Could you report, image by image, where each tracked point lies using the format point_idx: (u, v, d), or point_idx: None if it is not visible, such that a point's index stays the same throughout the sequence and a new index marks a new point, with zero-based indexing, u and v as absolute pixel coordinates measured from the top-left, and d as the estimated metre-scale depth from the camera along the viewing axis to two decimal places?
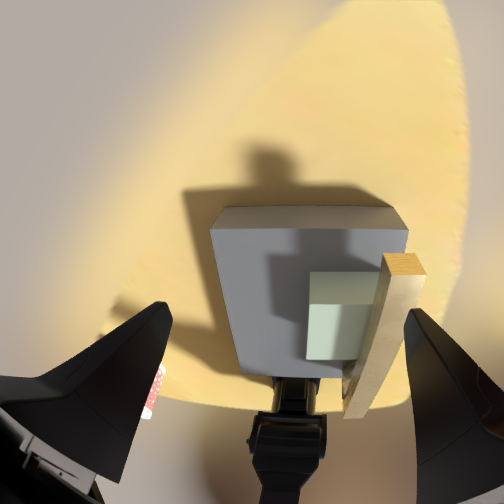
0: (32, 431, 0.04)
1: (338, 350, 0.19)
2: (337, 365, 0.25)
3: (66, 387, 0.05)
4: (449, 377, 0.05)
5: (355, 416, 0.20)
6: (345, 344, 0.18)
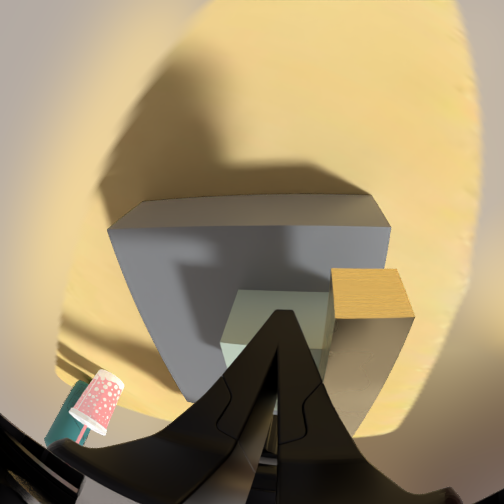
0: None
1: None
2: None
3: (223, 440, 0.04)
4: (277, 387, 0.06)
5: None
6: None
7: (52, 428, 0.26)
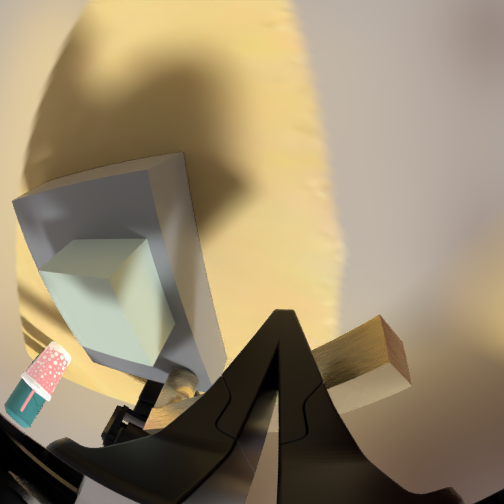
0: None
1: (96, 340, 0.13)
2: (167, 370, 0.20)
3: (223, 440, 0.04)
4: (278, 387, 0.06)
5: None
6: (96, 333, 0.13)
7: (11, 395, 0.26)
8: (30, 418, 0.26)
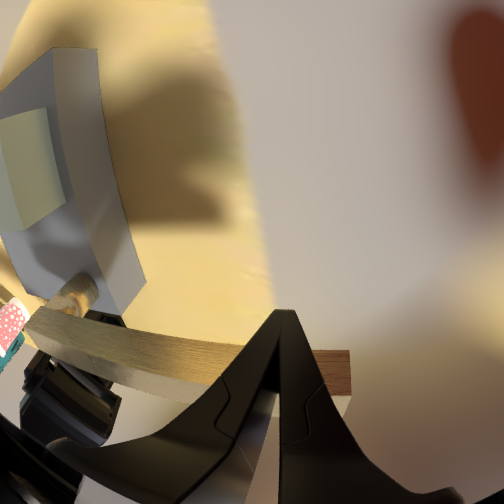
0: None
1: None
2: None
3: (222, 440, 0.04)
4: (278, 387, 0.06)
5: (36, 341, 0.11)
6: None
7: None
8: None
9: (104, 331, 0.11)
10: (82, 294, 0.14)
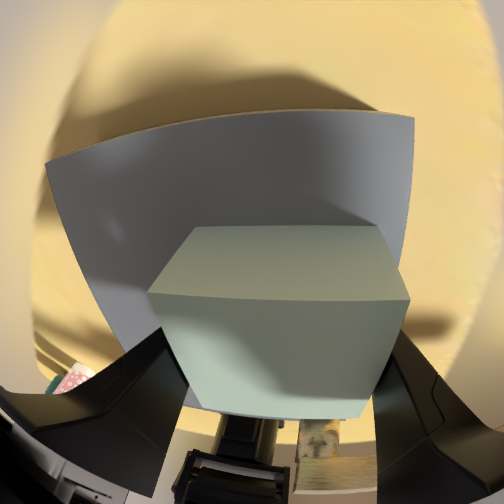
0: (67, 457, 0.03)
1: (260, 403, 0.08)
2: None
3: (102, 405, 0.05)
4: (402, 384, 0.05)
5: (302, 492, 0.09)
6: (273, 394, 0.08)
7: None
8: None
9: None
10: (338, 425, 0.12)
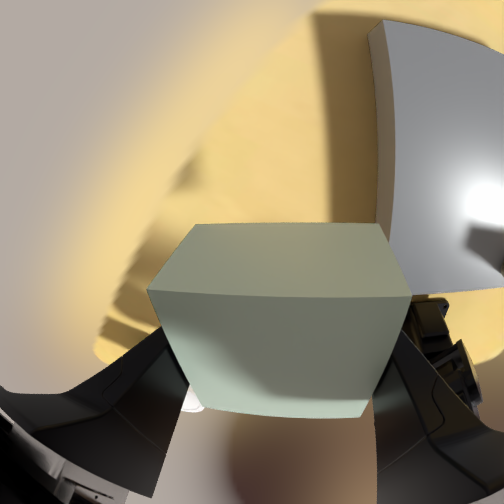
0: (67, 457, 0.03)
1: (260, 402, 0.08)
2: (496, 262, 0.14)
3: (102, 404, 0.05)
4: (402, 384, 0.05)
5: None
6: (273, 392, 0.08)
7: None
8: None
9: None
10: None
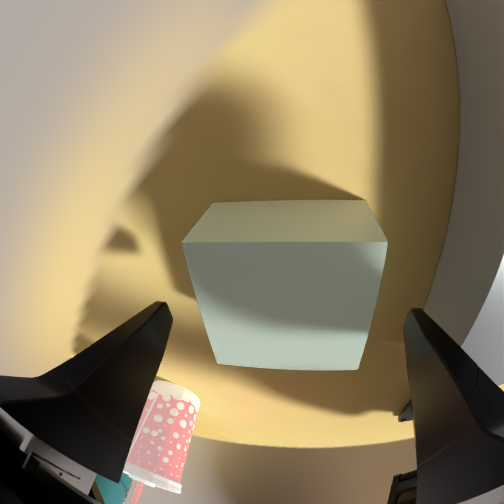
0: (32, 431, 0.04)
1: (270, 351, 0.10)
2: None
3: (66, 387, 0.05)
4: (449, 377, 0.05)
5: None
6: (282, 340, 0.09)
7: None
8: None
9: None
10: None
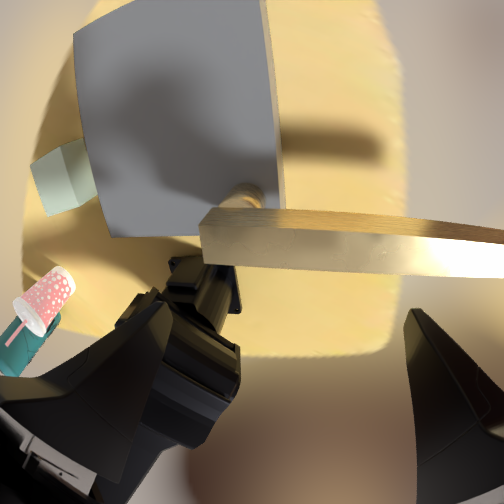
0: (32, 431, 0.04)
1: (54, 202, 0.21)
2: (221, 199, 0.17)
3: (66, 387, 0.05)
4: (449, 377, 0.05)
5: (211, 248, 0.12)
6: (54, 194, 0.20)
7: None
8: (18, 366, 0.24)
9: (346, 216, 0.12)
10: (260, 201, 0.15)
